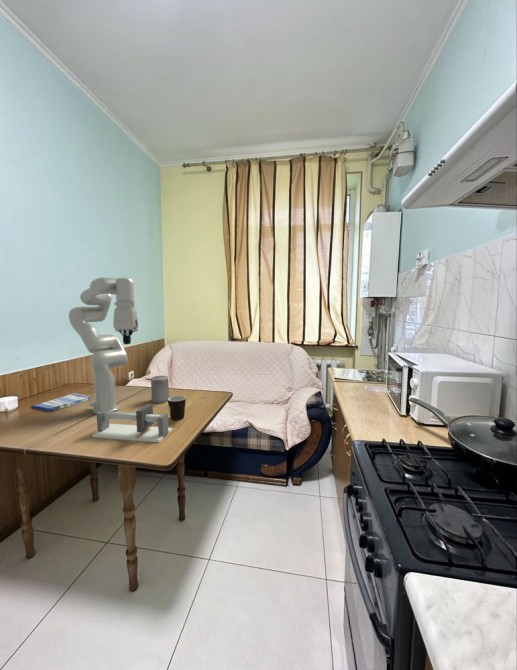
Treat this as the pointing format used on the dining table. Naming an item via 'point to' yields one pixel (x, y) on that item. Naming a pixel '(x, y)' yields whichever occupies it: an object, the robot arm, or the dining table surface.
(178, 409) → the coffee mug
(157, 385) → the pillar candle
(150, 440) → the pipe rig
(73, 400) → the dish towel
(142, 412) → the collar
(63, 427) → the dining table surface
